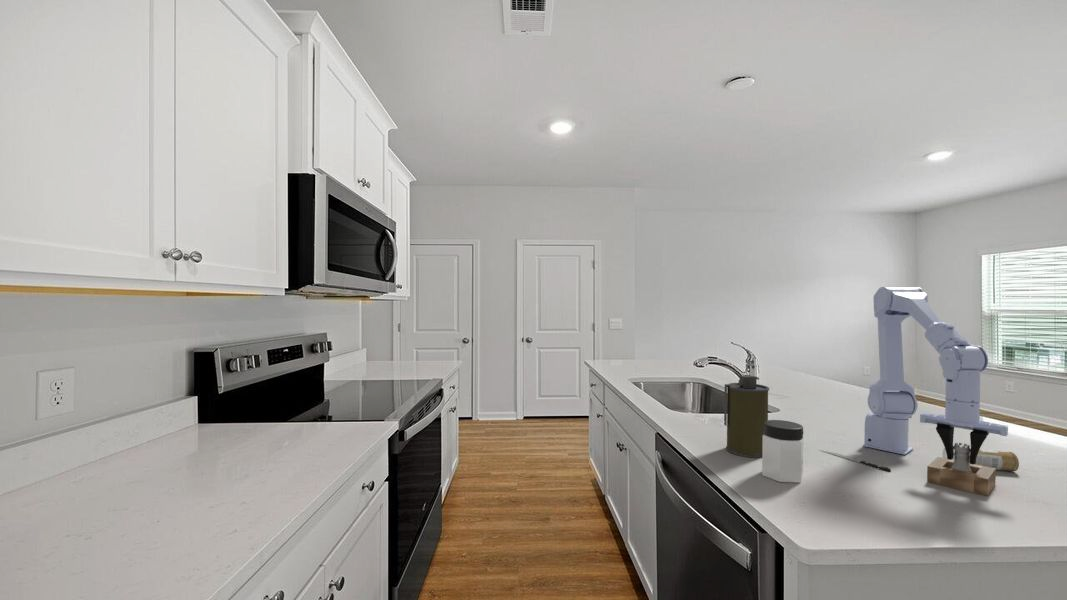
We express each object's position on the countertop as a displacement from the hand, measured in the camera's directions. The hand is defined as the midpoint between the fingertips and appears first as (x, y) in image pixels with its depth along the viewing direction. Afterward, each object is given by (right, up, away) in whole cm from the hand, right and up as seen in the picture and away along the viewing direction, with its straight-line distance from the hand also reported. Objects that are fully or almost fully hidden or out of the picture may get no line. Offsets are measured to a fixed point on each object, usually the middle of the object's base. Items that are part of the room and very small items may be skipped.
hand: (961, 460), depth 108 cm
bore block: (0, -5, 0) cm, 5 cm away
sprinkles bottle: (+19, -3, +8) cm, 21 cm away
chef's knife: (-14, -5, +16) cm, 22 cm away
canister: (-39, -5, +21) cm, 44 cm away
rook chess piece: (0, -5, 0) cm, 5 cm away
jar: (-38, -5, +3) cm, 39 cm away
